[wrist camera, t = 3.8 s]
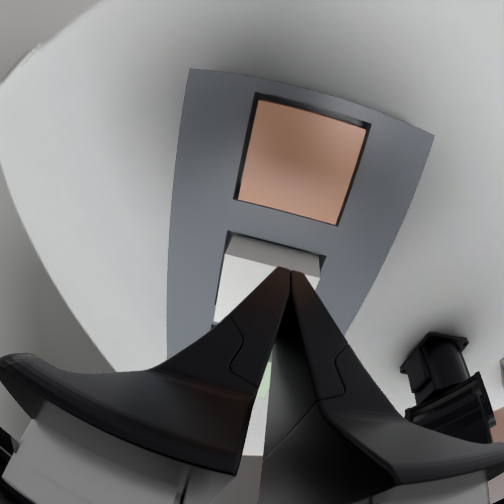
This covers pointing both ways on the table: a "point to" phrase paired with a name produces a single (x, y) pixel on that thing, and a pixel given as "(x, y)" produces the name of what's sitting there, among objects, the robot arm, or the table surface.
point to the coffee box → (502, 370)
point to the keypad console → (273, 220)
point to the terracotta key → (300, 161)
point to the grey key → (257, 269)
